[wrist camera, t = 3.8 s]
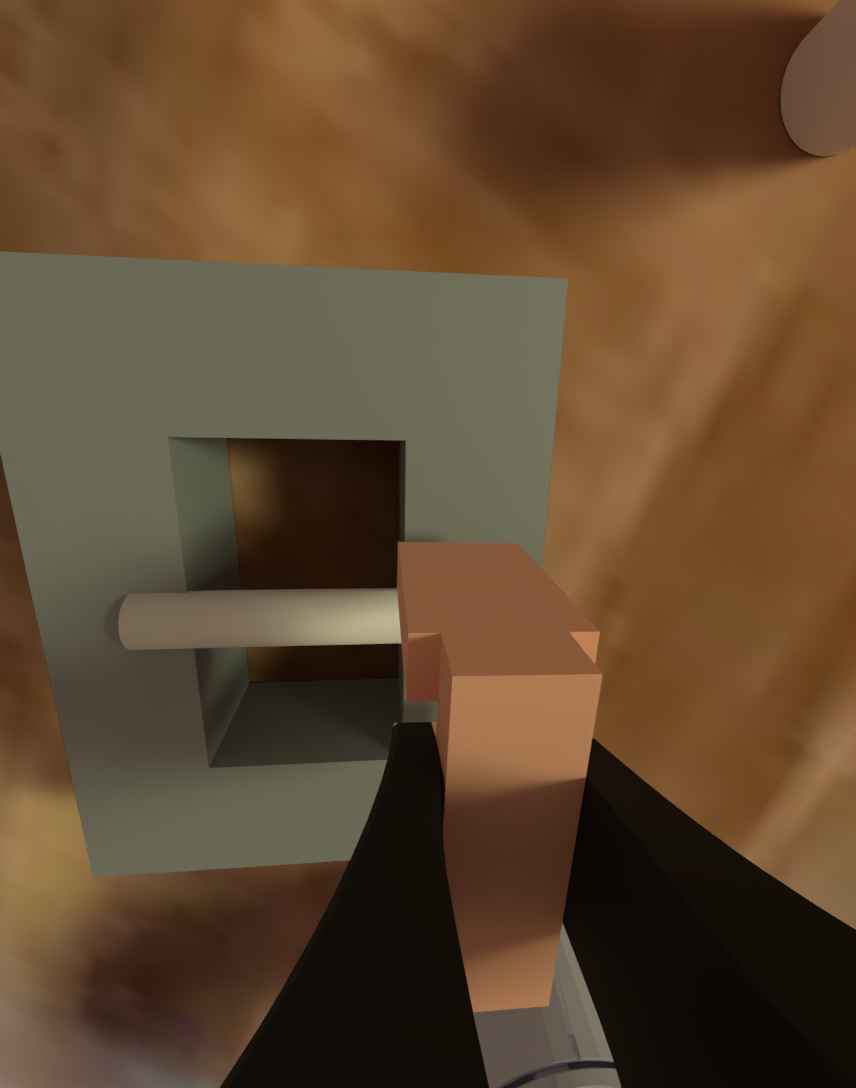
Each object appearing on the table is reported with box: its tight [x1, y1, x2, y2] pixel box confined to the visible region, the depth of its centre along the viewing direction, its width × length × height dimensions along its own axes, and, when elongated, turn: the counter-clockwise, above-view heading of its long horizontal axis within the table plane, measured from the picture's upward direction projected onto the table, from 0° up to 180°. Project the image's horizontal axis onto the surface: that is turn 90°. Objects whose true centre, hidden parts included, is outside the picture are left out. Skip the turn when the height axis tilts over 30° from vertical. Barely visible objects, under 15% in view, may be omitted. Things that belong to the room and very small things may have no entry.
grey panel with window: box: [0, 252, 568, 877], centre depth 16 cm, size 18×14×6 cm
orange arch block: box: [394, 542, 603, 1012], centre depth 10 cm, size 6×3×6 cm, turn 178°
